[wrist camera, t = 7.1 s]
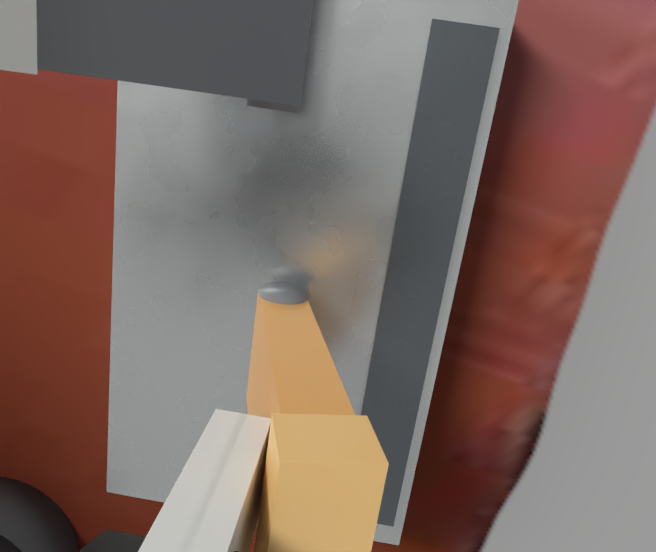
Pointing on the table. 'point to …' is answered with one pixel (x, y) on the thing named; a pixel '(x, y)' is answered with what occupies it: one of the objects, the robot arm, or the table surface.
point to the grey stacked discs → (32, 521)
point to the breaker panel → (301, 230)
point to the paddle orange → (309, 436)
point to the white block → (166, 44)
